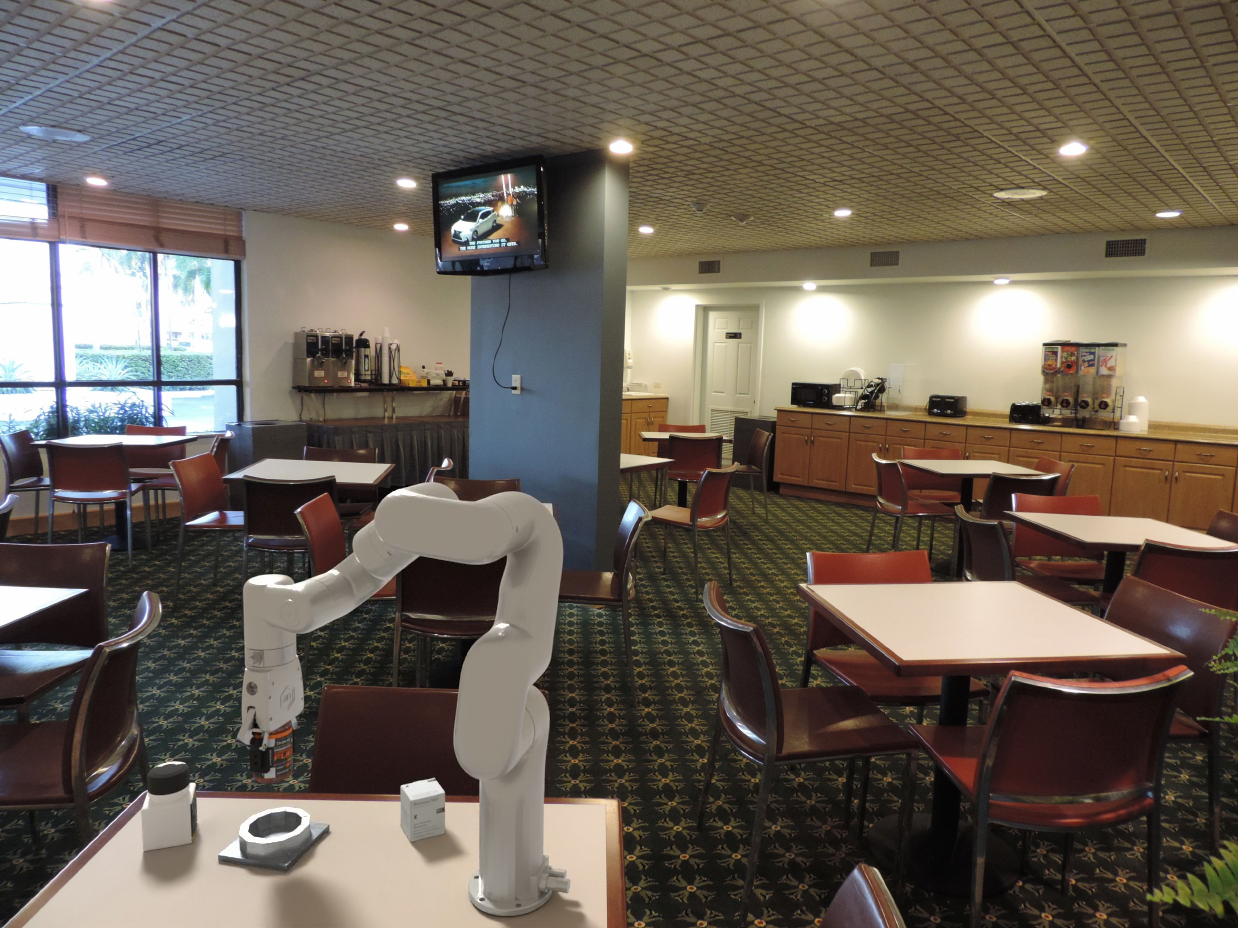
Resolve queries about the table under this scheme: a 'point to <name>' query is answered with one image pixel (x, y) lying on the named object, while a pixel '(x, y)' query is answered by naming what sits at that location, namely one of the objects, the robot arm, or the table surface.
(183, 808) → the medicine bottle
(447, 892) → the table surface
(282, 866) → the ring plate
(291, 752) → the supplement bottle
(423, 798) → the skincare box
